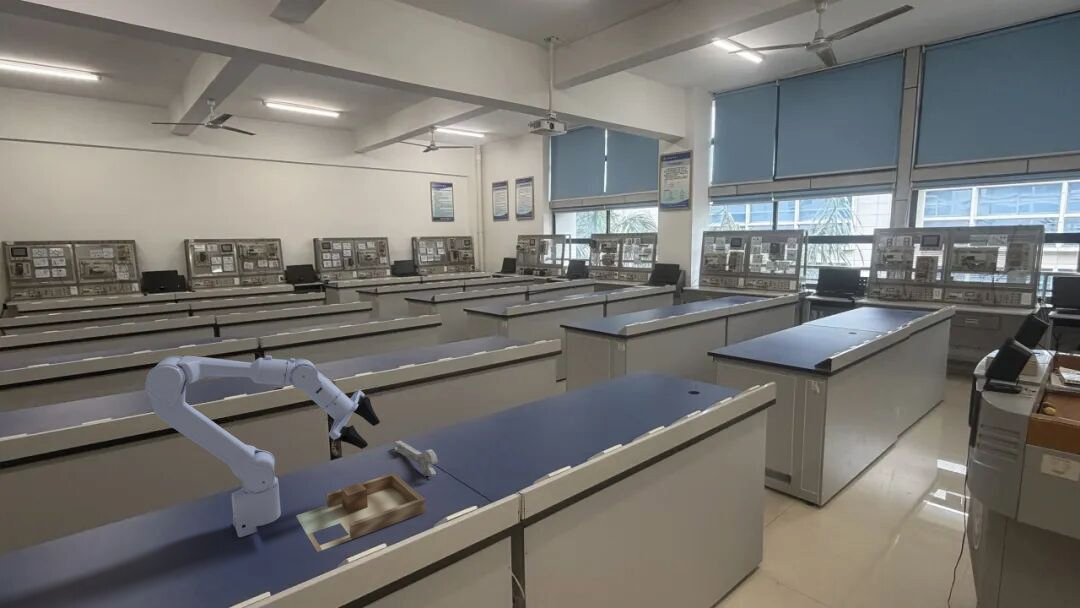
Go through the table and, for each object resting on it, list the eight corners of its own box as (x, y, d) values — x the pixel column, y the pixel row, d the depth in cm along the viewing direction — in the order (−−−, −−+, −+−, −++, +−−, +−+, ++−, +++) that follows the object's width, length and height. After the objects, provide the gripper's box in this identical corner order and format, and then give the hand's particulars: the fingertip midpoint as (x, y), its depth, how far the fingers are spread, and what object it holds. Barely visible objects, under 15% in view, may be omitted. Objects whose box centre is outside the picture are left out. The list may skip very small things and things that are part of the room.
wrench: (400, 457, 157) (439, 481, 133) (394, 458, 156) (433, 483, 132) (398, 431, 157) (437, 452, 132) (392, 433, 156) (430, 453, 131)
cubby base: (317, 557, 102) (316, 538, 101) (295, 520, 116) (294, 503, 115) (425, 516, 117) (425, 499, 116) (395, 488, 131) (394, 472, 130)
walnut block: (348, 513, 116) (347, 495, 115) (342, 506, 119) (341, 488, 119) (367, 507, 119) (366, 489, 118) (361, 500, 122) (360, 482, 122)
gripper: (327, 415, 112) (370, 452, 117) (355, 373, 124) (392, 408, 129) (308, 425, 114) (350, 461, 119) (336, 384, 126) (374, 418, 132)
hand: (371, 434), depth 124 cm, fingers open, 7 cm apart
